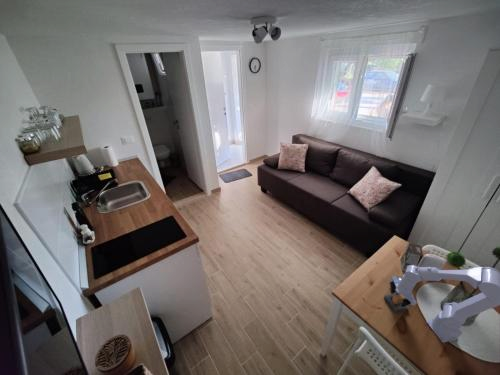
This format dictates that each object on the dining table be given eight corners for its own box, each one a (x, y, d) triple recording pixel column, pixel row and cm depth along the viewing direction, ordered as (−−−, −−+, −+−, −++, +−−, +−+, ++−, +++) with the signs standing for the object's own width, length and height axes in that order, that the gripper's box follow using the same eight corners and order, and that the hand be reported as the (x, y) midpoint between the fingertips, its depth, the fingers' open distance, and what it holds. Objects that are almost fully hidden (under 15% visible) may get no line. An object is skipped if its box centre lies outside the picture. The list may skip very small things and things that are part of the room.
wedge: (400, 304, 115) (405, 297, 112) (393, 306, 115) (397, 299, 111) (397, 300, 117) (401, 293, 114) (390, 302, 117) (394, 295, 113)
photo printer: (437, 270, 132) (446, 257, 125) (438, 275, 128) (447, 262, 122) (417, 263, 136) (425, 250, 129) (418, 269, 133) (425, 256, 126)
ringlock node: (423, 306, 114) (428, 299, 110) (394, 312, 113) (398, 305, 109) (399, 278, 128) (403, 271, 125) (373, 283, 127) (376, 276, 123)
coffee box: (413, 273, 130) (423, 256, 122) (401, 270, 133) (410, 253, 124) (411, 262, 137) (421, 245, 128) (399, 259, 140) (408, 242, 131)
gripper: (389, 273, 112) (382, 288, 120) (410, 299, 100) (401, 314, 108) (401, 270, 113) (393, 285, 120) (424, 297, 101) (413, 311, 108)
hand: (398, 299), depth 114 cm, fingers open, 7 cm apart
